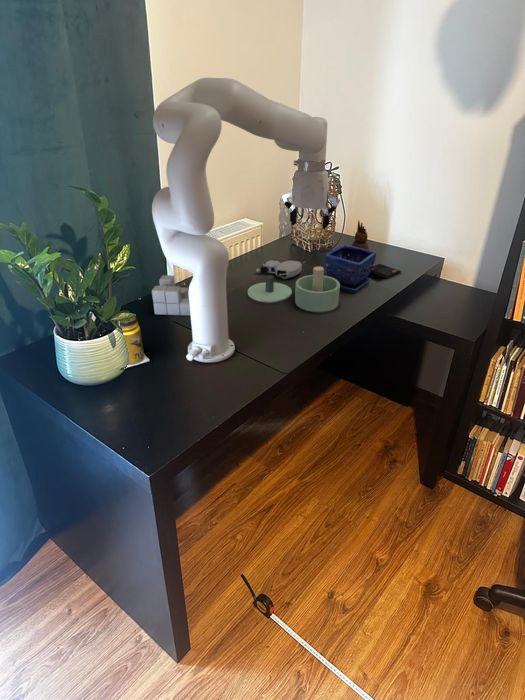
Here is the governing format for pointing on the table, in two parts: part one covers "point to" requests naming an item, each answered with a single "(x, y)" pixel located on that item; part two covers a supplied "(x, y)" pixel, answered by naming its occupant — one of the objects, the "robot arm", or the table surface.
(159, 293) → the puzzle cube
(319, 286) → the beige flanged cylinder
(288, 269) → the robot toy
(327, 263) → the flower pot
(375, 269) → the calculator
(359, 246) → the wooden figurine
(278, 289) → the lid
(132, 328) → the condiment
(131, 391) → the table surface
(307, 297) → the bowl
